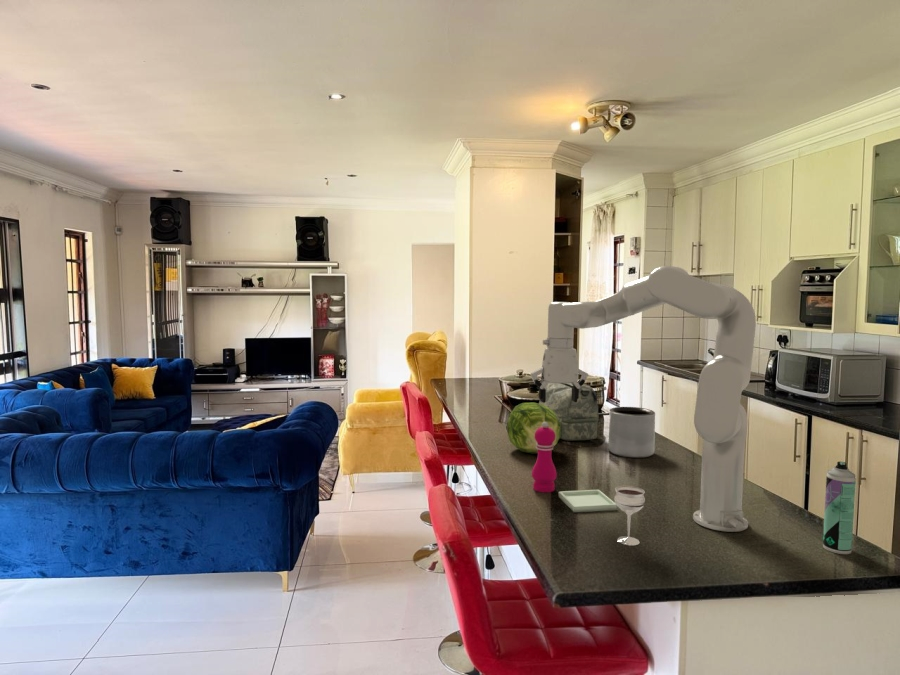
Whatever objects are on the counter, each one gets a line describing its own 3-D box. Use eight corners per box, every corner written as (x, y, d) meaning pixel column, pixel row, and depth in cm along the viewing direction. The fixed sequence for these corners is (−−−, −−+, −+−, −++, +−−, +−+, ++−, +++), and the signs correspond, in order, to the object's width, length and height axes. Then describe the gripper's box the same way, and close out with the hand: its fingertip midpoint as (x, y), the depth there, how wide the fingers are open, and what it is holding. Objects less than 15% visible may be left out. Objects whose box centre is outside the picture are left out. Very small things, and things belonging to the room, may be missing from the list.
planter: (616, 459, 205) (617, 415, 204) (602, 447, 221) (603, 406, 220) (661, 459, 206) (662, 415, 205) (644, 447, 222) (645, 406, 221)
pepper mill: (556, 494, 169) (557, 425, 168) (530, 492, 170) (531, 424, 169) (556, 486, 176) (558, 420, 175) (532, 484, 178) (533, 418, 176)
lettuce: (519, 464, 200) (530, 414, 197) (496, 438, 222) (506, 393, 219) (569, 468, 206) (581, 419, 203) (543, 442, 228) (552, 398, 225)
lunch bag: (605, 440, 232) (606, 385, 231) (565, 444, 226) (566, 387, 224) (569, 426, 257) (570, 376, 255) (532, 429, 250) (533, 378, 249)
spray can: (840, 543, 136) (845, 458, 135) (857, 554, 131) (862, 465, 129) (817, 544, 136) (821, 459, 135) (833, 554, 131) (838, 466, 129)
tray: (616, 509, 157) (617, 504, 157) (574, 512, 155) (574, 506, 155) (598, 494, 169) (598, 489, 168) (558, 496, 167) (558, 491, 167)
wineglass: (609, 535, 140) (610, 485, 139) (636, 534, 141) (638, 485, 140) (619, 547, 134) (620, 495, 133) (648, 546, 134) (650, 495, 133)
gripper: (535, 345, 168) (533, 404, 169) (593, 345, 170) (591, 403, 172) (528, 342, 175) (526, 399, 177) (584, 343, 178) (582, 399, 179)
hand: (558, 401), depth 174 cm, fingers open, 9 cm apart
